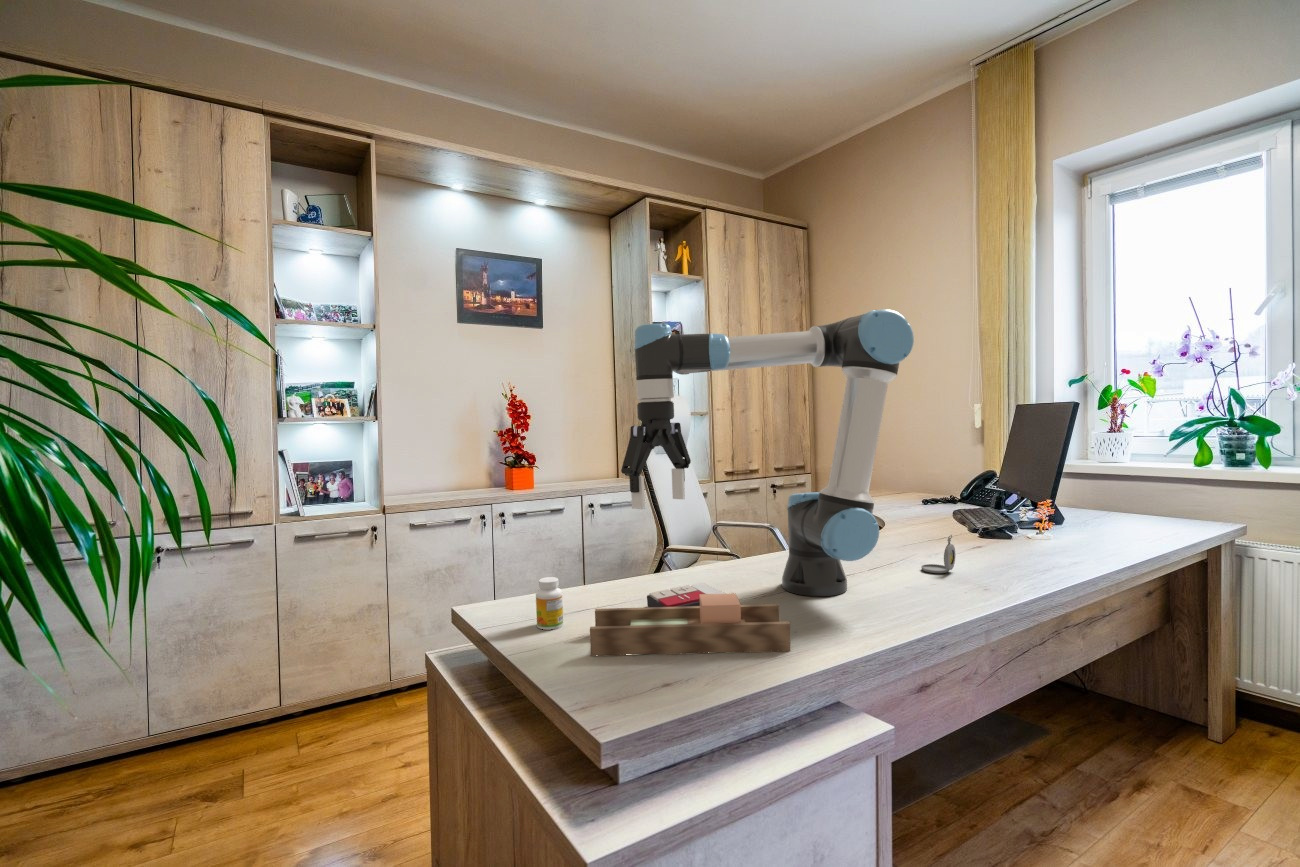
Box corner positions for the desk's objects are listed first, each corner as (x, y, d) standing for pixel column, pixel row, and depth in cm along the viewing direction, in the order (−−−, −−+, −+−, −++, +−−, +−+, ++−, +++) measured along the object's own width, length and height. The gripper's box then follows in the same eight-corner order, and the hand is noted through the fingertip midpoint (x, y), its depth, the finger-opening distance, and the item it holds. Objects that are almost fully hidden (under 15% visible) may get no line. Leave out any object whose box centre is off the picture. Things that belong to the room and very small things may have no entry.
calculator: (645, 592, 143) (705, 579, 149) (647, 610, 144) (706, 597, 149) (666, 605, 133) (729, 591, 139) (667, 625, 134) (730, 611, 139)
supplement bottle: (534, 624, 134) (532, 578, 134) (559, 620, 136) (557, 574, 136) (540, 632, 129) (538, 584, 129) (566, 627, 131) (564, 580, 131)
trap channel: (778, 628, 127) (777, 604, 127) (790, 651, 116) (789, 623, 115) (596, 633, 127) (595, 608, 127) (590, 656, 116) (589, 628, 116)
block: (736, 618, 125) (735, 593, 124) (741, 631, 118) (740, 604, 118) (700, 619, 125) (699, 594, 125) (702, 632, 118) (702, 605, 118)
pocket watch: (918, 567, 170) (918, 530, 169) (951, 568, 168) (951, 530, 168) (927, 576, 162) (927, 536, 161) (962, 576, 160) (962, 536, 160)
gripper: (676, 400, 144) (680, 494, 145) (600, 402, 124) (605, 511, 125) (704, 398, 139) (707, 496, 140) (629, 401, 120) (634, 514, 121)
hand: (659, 503), depth 133 cm, fingers open, 13 cm apart
